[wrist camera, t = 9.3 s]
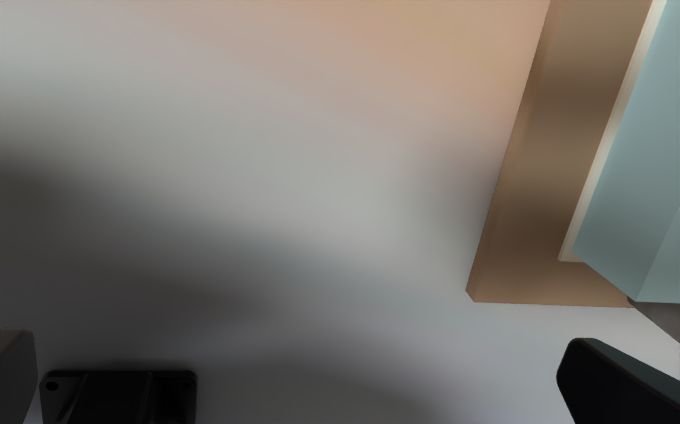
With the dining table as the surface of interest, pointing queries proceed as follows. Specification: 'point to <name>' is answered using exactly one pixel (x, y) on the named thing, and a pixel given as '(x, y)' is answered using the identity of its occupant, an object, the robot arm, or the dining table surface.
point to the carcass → (565, 160)
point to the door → (642, 181)
